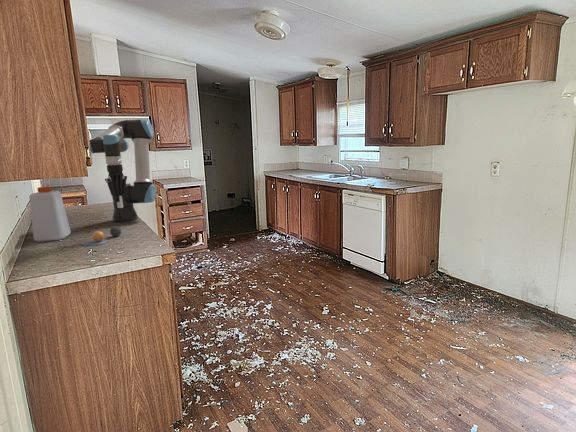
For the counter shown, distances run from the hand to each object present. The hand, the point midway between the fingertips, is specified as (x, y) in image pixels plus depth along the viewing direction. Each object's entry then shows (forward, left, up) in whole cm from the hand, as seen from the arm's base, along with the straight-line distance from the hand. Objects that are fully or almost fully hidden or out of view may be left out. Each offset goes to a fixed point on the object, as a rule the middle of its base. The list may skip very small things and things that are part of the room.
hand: (120, 207), depth 197 cm
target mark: (+9, -16, -15) cm, 24 cm away
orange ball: (+8, -14, -12) cm, 20 cm away
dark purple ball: (+3, -5, -12) cm, 13 cm away
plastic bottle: (-19, -32, -15) cm, 40 cm away
